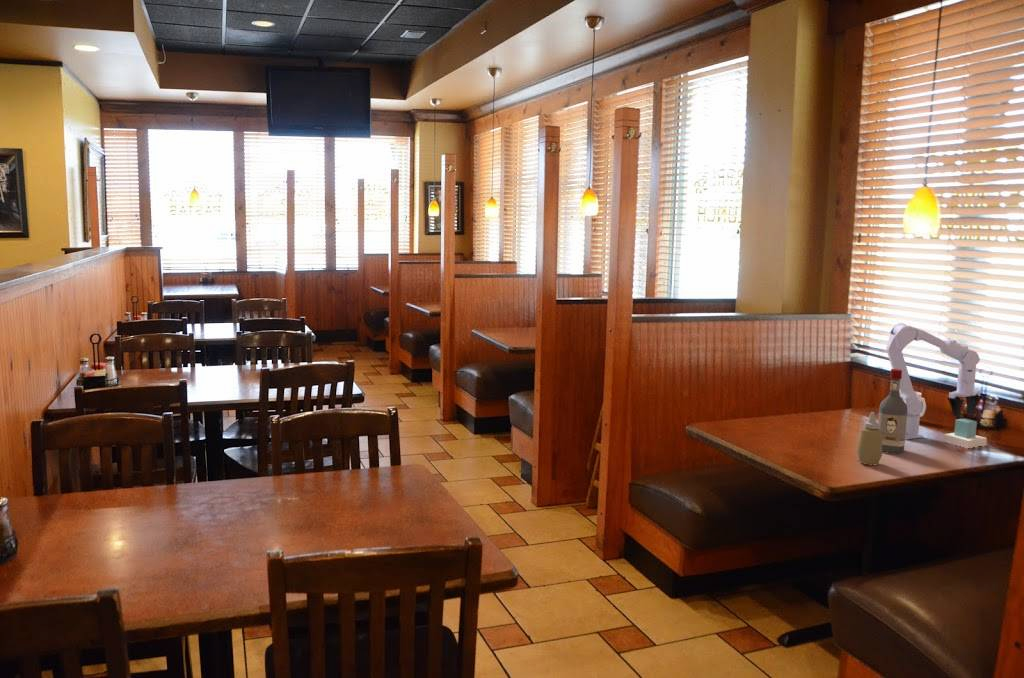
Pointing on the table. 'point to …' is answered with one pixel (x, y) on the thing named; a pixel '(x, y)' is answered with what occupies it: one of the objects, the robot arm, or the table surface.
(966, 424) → the teal block
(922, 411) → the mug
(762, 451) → the table surface
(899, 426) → the liquor
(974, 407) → the robot arm
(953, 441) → the base board
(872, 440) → the squeeze bottle
